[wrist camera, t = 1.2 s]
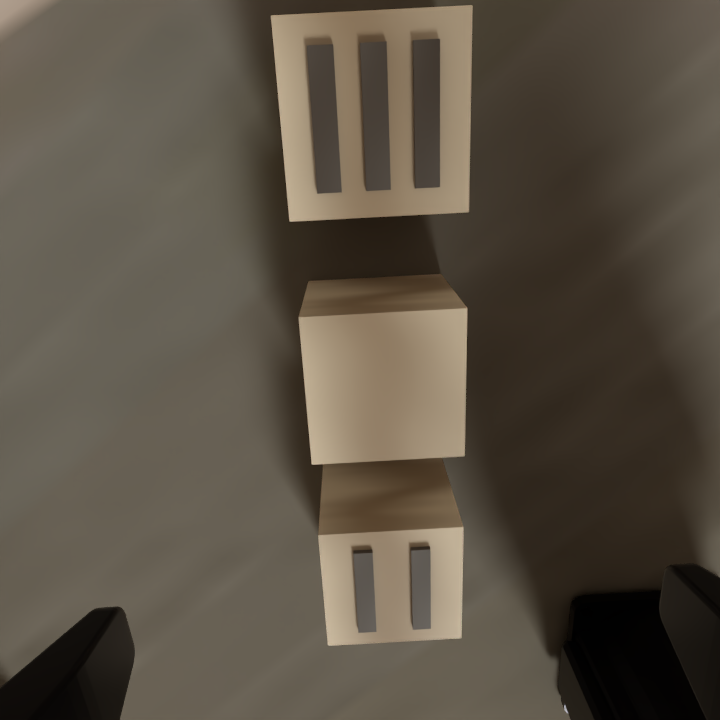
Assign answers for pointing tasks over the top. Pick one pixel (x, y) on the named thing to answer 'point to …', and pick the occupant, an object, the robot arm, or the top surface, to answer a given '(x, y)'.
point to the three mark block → (375, 111)
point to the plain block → (384, 368)
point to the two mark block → (390, 552)
